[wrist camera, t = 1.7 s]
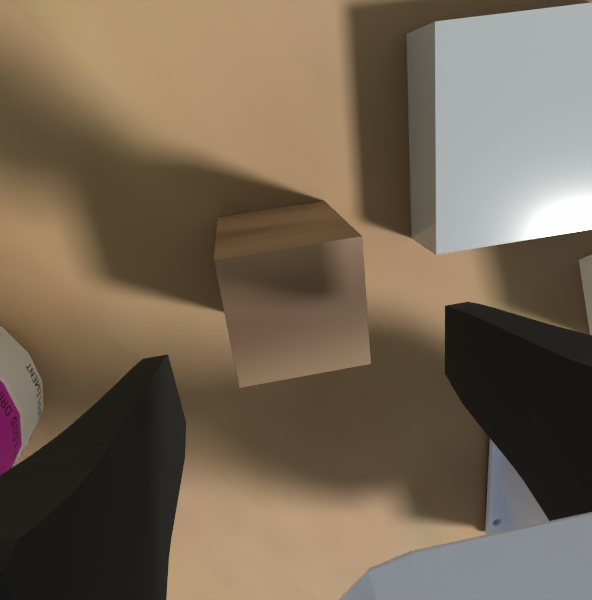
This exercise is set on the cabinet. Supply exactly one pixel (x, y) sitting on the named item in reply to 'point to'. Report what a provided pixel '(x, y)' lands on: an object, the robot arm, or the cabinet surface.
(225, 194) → the cabinet surface
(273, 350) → the walnut block
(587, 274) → the cream block
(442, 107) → the grey stone block
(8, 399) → the supplement can
